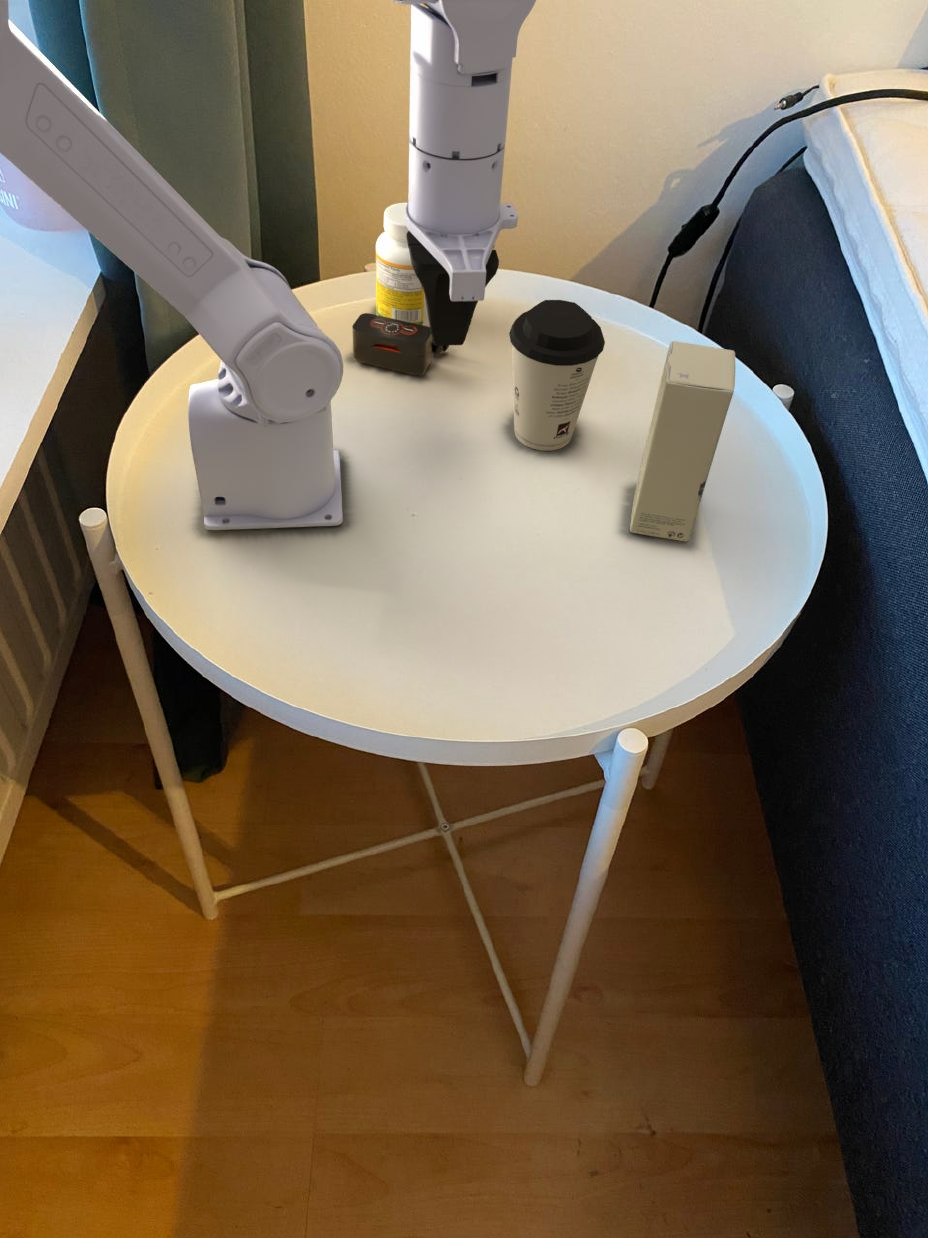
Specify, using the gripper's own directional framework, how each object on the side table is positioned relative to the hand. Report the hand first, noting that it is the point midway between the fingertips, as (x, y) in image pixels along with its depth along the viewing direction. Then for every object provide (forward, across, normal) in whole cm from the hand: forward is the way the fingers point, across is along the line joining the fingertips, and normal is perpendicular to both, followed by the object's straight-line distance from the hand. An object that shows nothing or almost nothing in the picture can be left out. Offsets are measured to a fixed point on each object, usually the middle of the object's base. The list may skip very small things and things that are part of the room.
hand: (447, 339), depth 68 cm
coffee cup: (+10, +1, -8) cm, 13 cm away
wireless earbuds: (+10, +12, +2) cm, 15 cm away
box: (+10, -9, -15) cm, 20 cm away
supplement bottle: (+10, +18, +1) cm, 20 cm away
